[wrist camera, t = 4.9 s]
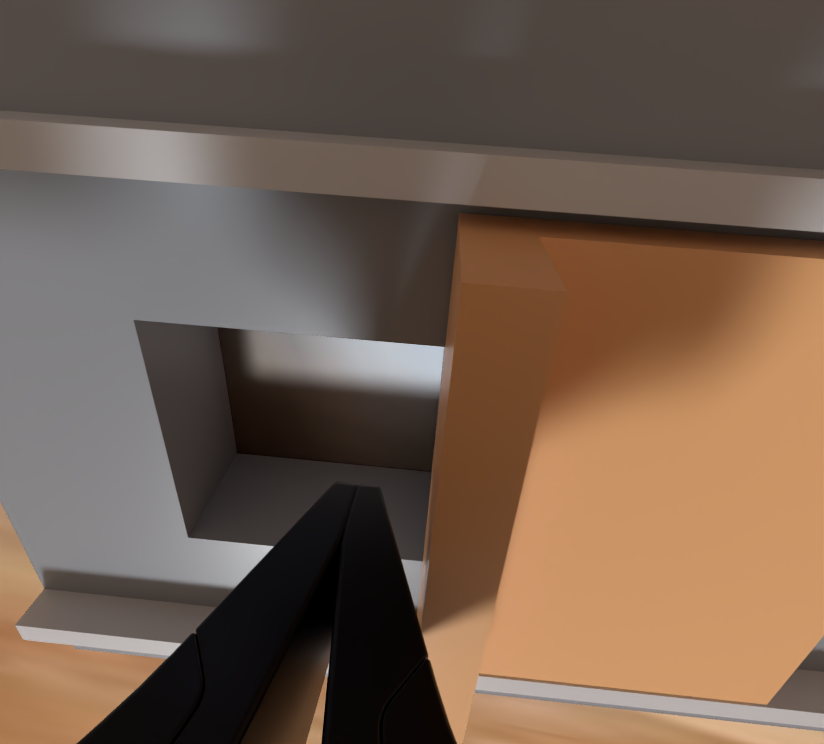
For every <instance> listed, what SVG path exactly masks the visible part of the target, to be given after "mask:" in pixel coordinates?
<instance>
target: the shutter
mask: <svg viewBox="0 0 824 744" xmlns="http://www.w3.org/2000/svg"><path fill="white" fill-rule="evenodd" d="M417 617H418V620H419V624H420V627H421V631H422V634H423V638H424V641H425V645H426V648H427V652H428V659H429V660H430V661H431V665H432V668H433V672H434V675H435V679H436V682H437V686H438V689H439V692H440V695H441V698H442V701H443V705H444V708H445V711H446V714H447V717H448V720H449V723H450V726H451V729H452V731H453V734H454V737H455V739H456V742H457V744H463V740H464V736H465V732H466V727H467V723H468V719H469V714H470V710H471V706H472V701H473V697H474V693H475V689H476V684H477V680H478V676H479V673H481V674H490V675H500V676H509V677H518V678H527V679H536V680H545V681H555V682H564V683H573V684H582V685H591V686H600V687H609V688H619V689H628V690H637V691H646V692H655V693H664V694H674V695H683V696H692V697H701V698H710V699H719V700H728V701H738V702H747V703H756V704H765V705H767V704H768V703H769V702H770V700H771V699H772V698H773V697H774V696H775V694H776V693H777V692H778V691H779V689H780V688H781V687H782V686H783V685H784V683H785V682H786V681H787V680H788V679H789V677H790V676H791V675H792V674H793V672H794V671H795V670H796V669H797V668H798V666H799V665H800V664H801V663H802V662H803V660H804V659H805V658H806V657H807V655H808V654H809V653H810V652H811V651H812V649H813V648H814V647H815V646H816V645H817V643H818V642H819V641H820V640H821V638H822V637H823V636H824V241H819V240H806V239H793V238H780V237H767V236H754V235H741V234H728V233H715V232H702V231H689V230H677V229H664V228H651V227H638V226H625V225H612V224H599V223H586V222H573V221H560V220H547V219H534V218H521V217H508V216H495V215H483V214H470V213H459V219H458V229H457V238H456V248H455V258H454V267H453V277H452V286H451V296H450V305H449V315H448V324H447V334H446V343H445V353H444V362H443V372H442V382H441V391H440V401H439V410H438V420H437V429H436V439H435V448H434V458H433V467H432V477H431V487H430V496H429V506H428V515H427V525H426V534H425V544H424V553H423V563H422V572H421V582H420V591H419V601H418V611H417Z"/></svg>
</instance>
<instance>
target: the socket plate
mask: <svg viewBox="0 0 824 744" xmlns="http://www.w3.org/2000/svg"><path fill="white" fill-rule="evenodd" d="M459 213H470V214H483V215H495V216H508V217H521V218H534V219H547V220H560V221H573V222H586V223H599V224H612V225H625V226H638V227H651V228H664V229H677V230H689V231H702V232H715V233H728V234H741V235H754V236H767V237H780V238H793V239H806V240H819V241H824V0H0V502H1V504H2V506H3V508H4V510H5V512H6V514H7V515H8V517H9V519H10V521H11V523H12V525H13V527H14V529H15V531H16V533H17V535H18V537H19V539H20V541H21V543H22V545H23V547H24V549H25V551H26V553H27V555H28V557H29V559H30V561H31V563H32V565H33V567H34V569H35V571H36V573H37V575H38V577H39V579H40V581H41V583H42V585H43V587H44V590H43V591H42V593H41V594H40V595H39V596H38V598H37V599H36V600H35V601H34V602H33V604H32V605H31V606H30V607H29V609H28V610H27V611H26V612H25V614H24V615H23V616H22V617H21V619H20V620H19V621H18V622H17V624H16V625H15V626H16V628H17V630H18V631H19V633H20V635H21V636H22V638H23V640H30V641H39V642H48V643H57V644H67V645H73V646H74V648H75V649H83V650H92V651H101V652H110V653H119V654H128V655H137V656H147V657H156V658H165V659H167V658H168V657H169V656H170V655H171V654H172V653H173V652H174V651H175V650H176V649H177V648H178V647H179V646H180V645H181V644H182V643H183V641H184V640H185V639H186V638H187V637H188V636H189V635H190V634H191V633H195V634H196V628H197V627H198V626H199V625H200V624H201V623H202V622H203V621H204V620H205V619H206V618H207V616H208V615H209V614H210V613H211V612H212V611H213V610H214V609H215V608H216V607H217V606H218V605H219V604H220V603H221V602H222V601H223V600H224V599H225V597H226V596H227V595H228V594H229V593H230V592H231V591H232V590H233V589H234V588H235V587H236V586H237V585H238V584H239V583H240V582H241V581H242V580H243V578H244V577H245V576H246V575H247V574H248V573H249V572H250V571H251V570H252V569H253V568H254V567H255V566H256V565H257V564H258V563H259V562H260V561H261V559H262V558H263V557H264V556H265V555H266V554H267V553H268V552H269V551H270V550H271V549H272V548H273V547H274V546H275V545H276V544H277V543H278V542H279V540H280V539H281V538H282V537H283V536H284V535H285V534H286V533H287V532H288V531H289V530H290V529H291V528H292V527H293V526H294V525H295V524H296V523H297V521H298V520H299V519H300V518H301V517H302V516H303V515H304V514H305V513H306V512H307V511H308V510H309V509H310V508H311V507H312V506H313V505H314V504H315V502H316V501H317V500H318V499H319V498H320V497H321V496H322V495H323V494H324V493H325V492H326V491H327V490H328V489H329V488H330V487H331V486H332V485H333V484H334V483H335V482H337V481H343V482H353V483H357V484H360V483H363V484H372V485H378V486H380V488H381V490H382V494H383V497H384V501H385V504H386V508H387V511H388V515H389V518H390V522H391V525H392V529H393V532H394V536H395V539H396V543H397V546H398V550H399V553H400V557H401V560H402V564H403V567H404V571H405V574H406V578H407V582H408V585H409V589H410V592H411V596H412V599H413V603H414V606H415V610H416V613H417V611H418V601H419V591H420V582H421V572H422V563H423V553H424V544H425V534H426V525H427V515H428V506H429V496H430V487H431V477H432V471H431V472H427V471H416V470H406V469H395V468H385V467H374V466H364V465H353V464H343V463H332V462H322V461H312V460H301V459H291V458H280V457H270V456H259V455H249V454H238V453H237V448H236V442H235V435H234V429H233V423H232V416H231V410H230V404H229V397H228V391H227V384H226V378H225V372H224V365H223V359H222V353H221V346H220V340H219V333H218V327H222V328H234V329H245V330H257V331H268V332H280V333H292V334H303V335H315V336H326V337H338V338H349V339H361V340H372V341H384V342H395V343H407V344H418V345H430V346H441V347H444V353H445V343H446V334H447V324H448V315H449V305H450V296H451V286H452V277H453V267H454V258H455V248H456V238H457V229H458V219H459ZM443 362H444V356H443ZM442 372H443V365H442ZM441 382H442V375H441ZM440 391H441V384H440ZM439 401H440V394H439ZM438 410H439V404H438ZM437 420H438V413H437ZM436 429H437V423H436ZM435 439H436V432H435ZM434 448H435V442H434ZM433 458H434V452H433ZM432 467H433V461H432ZM328 670H329V664H328V668H327V671H326V675H325V676H327V677H328ZM475 693H481V694H490V695H499V696H508V697H517V698H526V699H535V700H544V701H553V702H562V703H571V704H581V705H590V706H599V707H608V708H617V709H626V710H635V711H644V712H653V713H662V714H671V715H680V716H689V717H698V718H707V719H716V720H725V721H734V722H743V723H752V724H761V725H770V726H779V727H788V728H798V729H807V730H816V731H824V636H823V637H822V638H821V640H820V641H819V642H818V643H817V645H816V646H815V647H814V648H813V649H812V651H811V652H810V653H809V654H808V655H807V657H806V658H805V659H804V660H803V662H802V663H801V664H800V665H799V666H798V668H797V669H796V670H795V671H794V672H793V674H792V675H791V676H790V677H789V679H788V680H787V681H786V682H785V683H784V685H783V686H782V687H781V688H780V689H779V691H778V692H777V693H776V694H775V696H774V697H773V698H772V699H771V700H770V702H769V703H768V704H767V705H765V704H756V703H747V702H738V701H728V700H719V699H710V698H701V697H692V696H683V695H674V694H664V693H655V692H646V691H637V690H628V689H619V688H609V687H600V686H591V685H582V684H573V683H564V682H555V681H545V680H536V679H527V678H518V677H509V676H500V675H490V674H481V673H479V676H478V680H477V684H476V689H475Z"/></svg>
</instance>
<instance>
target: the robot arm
mask: <svg viewBox="0 0 824 744" xmlns="http://www.w3.org/2000/svg"><path fill="white" fill-rule="evenodd" d="M328 664H329V670H328V680H327V691H326V702H325V712H324V723H323V734H322V744H457V742H456V739H455V737H454V734H453V731H452V729H451V726H450V723H449V720H448V717H447V714H446V711H445V708H444V705H443V701H442V698H441V695H440V692H439V689H438V686H437V682H436V679H435V675H434V672H433V668H432V665H431V661H430V660H429V659H428V652H427V648H426V645H425V641H424V638H423V634H422V631H421V627H420V624H419V620H418V617H417V613H416V610H415V606H414V603H413V599H412V596H411V592H410V589H409V585H408V582H407V578H406V574H405V571H404V567H403V564H402V560H401V557H400V553H399V550H398V546H397V543H396V539H395V536H394V532H393V529H392V525H391V522H390V518H389V515H388V511H387V508H386V504H385V501H384V497H383V494H382V490H381V488H380V486H378V485H372V484H363V483H360V484H357V483H353V482H343V481H337V482H335V483H334V484H333V485H332V486H331V487H330V488H329V489H328V490H327V491H326V492H325V493H324V494H323V495H322V496H321V497H320V498H319V499H318V500H317V501H316V502H315V504H314V505H313V506H312V507H311V508H310V509H309V510H308V511H307V512H306V513H305V514H304V515H303V516H302V517H301V518H300V519H299V520H298V521H297V523H296V524H295V525H294V526H293V527H292V528H291V529H290V530H289V531H288V532H287V533H286V534H285V535H284V536H283V537H282V538H281V539H280V540H279V542H278V543H277V544H276V545H275V546H274V547H273V548H272V549H271V550H270V551H269V552H268V553H267V554H266V555H265V556H264V557H263V558H262V559H261V561H260V562H259V563H258V564H257V565H256V566H255V567H254V568H253V569H252V570H251V571H250V572H249V573H248V574H247V575H246V576H245V577H244V578H243V580H242V581H241V582H240V583H239V584H238V585H237V586H236V587H235V588H234V589H233V590H232V591H231V592H230V593H229V594H228V595H227V596H226V597H225V599H224V600H223V601H222V602H221V603H220V604H219V605H218V606H217V607H216V608H215V609H214V610H213V611H212V612H211V613H210V614H209V615H208V616H207V618H206V619H205V620H204V621H203V622H202V623H201V624H200V625H199V626H198V627H197V628H196V634H195V633H191V634H190V635H189V636H188V637H187V638H186V639H185V640H184V641H183V643H182V644H181V645H180V646H179V647H178V648H177V649H176V650H175V651H174V652H173V653H172V654H171V655H170V656H169V657H168V658H167V659H166V660H165V661H164V662H163V663H162V664H161V665H160V666H159V667H158V668H157V669H156V670H155V671H154V672H153V673H152V674H151V675H150V676H149V677H148V678H147V679H146V680H145V681H144V682H143V683H142V684H141V685H140V686H139V687H138V688H137V689H136V690H135V691H134V692H133V693H132V694H131V695H130V696H129V697H128V698H126V699H125V700H124V701H123V702H122V703H121V704H120V705H119V706H118V707H117V708H116V709H114V710H113V711H112V712H111V713H110V714H109V715H108V716H107V717H106V718H105V719H104V720H103V721H101V722H100V723H99V724H98V725H97V726H96V727H95V728H94V729H93V730H91V731H90V732H89V733H88V734H87V735H86V736H85V737H84V738H82V739H81V740H80V741H79V742H78V743H77V744H306V741H307V737H308V734H309V730H310V727H311V723H312V720H313V716H314V713H315V710H316V706H317V703H318V699H319V696H320V692H321V689H322V685H323V682H324V678H325V675H326V671H327V668H328Z"/></svg>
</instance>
